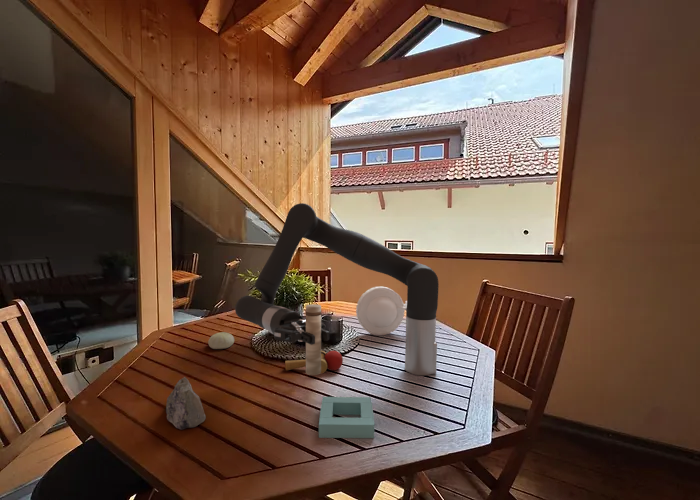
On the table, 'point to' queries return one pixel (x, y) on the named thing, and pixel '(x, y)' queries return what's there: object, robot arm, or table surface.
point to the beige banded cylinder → (315, 328)
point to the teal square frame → (346, 426)
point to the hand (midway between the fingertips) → (320, 338)
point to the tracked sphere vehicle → (380, 310)
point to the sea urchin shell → (221, 340)
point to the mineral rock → (184, 406)
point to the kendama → (328, 360)
